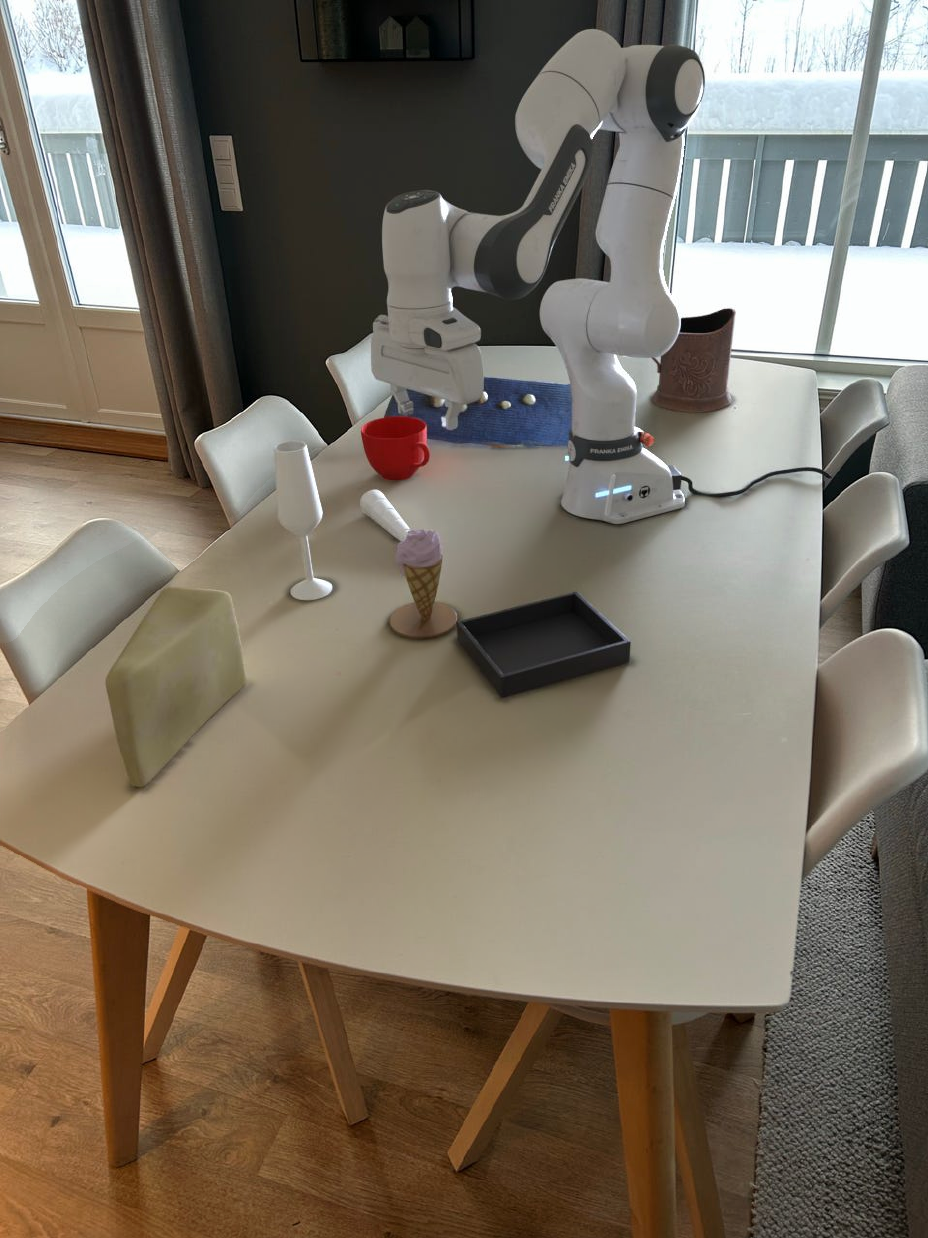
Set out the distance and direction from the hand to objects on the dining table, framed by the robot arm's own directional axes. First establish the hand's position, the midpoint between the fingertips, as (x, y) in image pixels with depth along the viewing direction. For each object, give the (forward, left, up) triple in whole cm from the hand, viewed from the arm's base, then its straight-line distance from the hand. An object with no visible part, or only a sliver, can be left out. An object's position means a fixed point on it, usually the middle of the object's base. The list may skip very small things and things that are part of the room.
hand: (427, 420), depth 131 cm
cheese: (+40, +27, -27) cm, 55 cm away
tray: (-9, +24, -27) cm, 37 cm away
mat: (-28, -67, -27) cm, 77 cm away
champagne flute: (+20, -4, -27) cm, 33 cm away
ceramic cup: (-3, -44, -27) cm, 51 cm away
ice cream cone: (+5, +11, -26) cm, 29 cm away
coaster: (+5, +11, -27) cm, 29 cm away
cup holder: (-75, -68, -27) cm, 105 cm away
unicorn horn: (+3, -19, -27) cm, 33 cm away
